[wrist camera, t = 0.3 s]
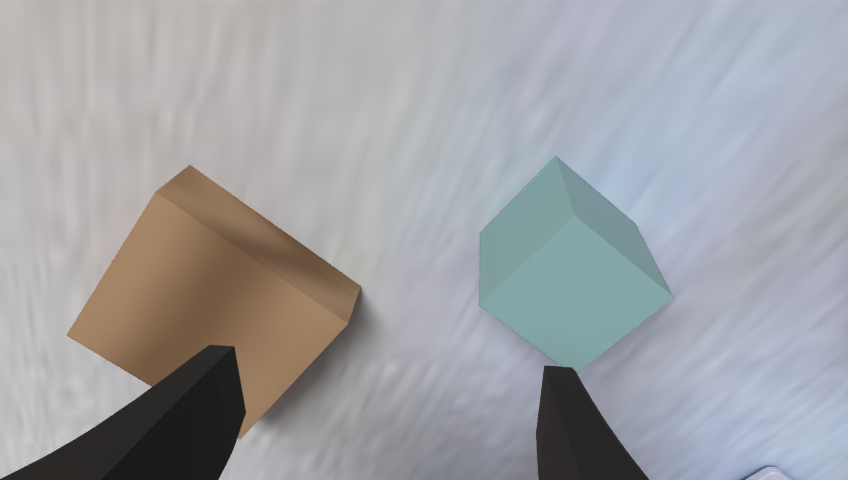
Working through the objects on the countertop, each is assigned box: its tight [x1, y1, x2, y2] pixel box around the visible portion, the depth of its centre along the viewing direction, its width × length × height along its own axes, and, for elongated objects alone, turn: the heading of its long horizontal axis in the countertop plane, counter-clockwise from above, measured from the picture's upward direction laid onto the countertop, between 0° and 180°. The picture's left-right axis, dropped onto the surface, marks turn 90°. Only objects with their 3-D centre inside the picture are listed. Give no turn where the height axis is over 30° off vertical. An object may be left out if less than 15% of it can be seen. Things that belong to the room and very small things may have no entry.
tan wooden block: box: [67, 165, 361, 439], centre depth 24 cm, size 8×8×3 cm
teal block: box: [479, 156, 674, 373], centre depth 20 cm, size 4×4×5 cm
